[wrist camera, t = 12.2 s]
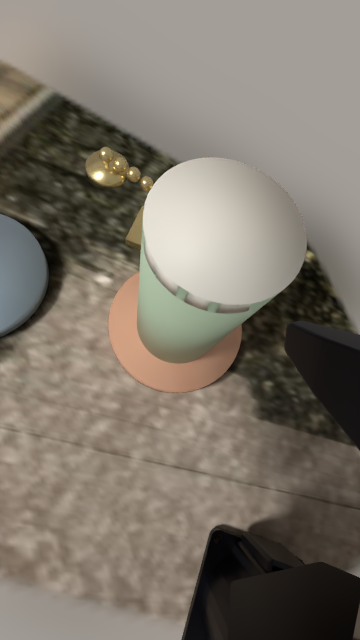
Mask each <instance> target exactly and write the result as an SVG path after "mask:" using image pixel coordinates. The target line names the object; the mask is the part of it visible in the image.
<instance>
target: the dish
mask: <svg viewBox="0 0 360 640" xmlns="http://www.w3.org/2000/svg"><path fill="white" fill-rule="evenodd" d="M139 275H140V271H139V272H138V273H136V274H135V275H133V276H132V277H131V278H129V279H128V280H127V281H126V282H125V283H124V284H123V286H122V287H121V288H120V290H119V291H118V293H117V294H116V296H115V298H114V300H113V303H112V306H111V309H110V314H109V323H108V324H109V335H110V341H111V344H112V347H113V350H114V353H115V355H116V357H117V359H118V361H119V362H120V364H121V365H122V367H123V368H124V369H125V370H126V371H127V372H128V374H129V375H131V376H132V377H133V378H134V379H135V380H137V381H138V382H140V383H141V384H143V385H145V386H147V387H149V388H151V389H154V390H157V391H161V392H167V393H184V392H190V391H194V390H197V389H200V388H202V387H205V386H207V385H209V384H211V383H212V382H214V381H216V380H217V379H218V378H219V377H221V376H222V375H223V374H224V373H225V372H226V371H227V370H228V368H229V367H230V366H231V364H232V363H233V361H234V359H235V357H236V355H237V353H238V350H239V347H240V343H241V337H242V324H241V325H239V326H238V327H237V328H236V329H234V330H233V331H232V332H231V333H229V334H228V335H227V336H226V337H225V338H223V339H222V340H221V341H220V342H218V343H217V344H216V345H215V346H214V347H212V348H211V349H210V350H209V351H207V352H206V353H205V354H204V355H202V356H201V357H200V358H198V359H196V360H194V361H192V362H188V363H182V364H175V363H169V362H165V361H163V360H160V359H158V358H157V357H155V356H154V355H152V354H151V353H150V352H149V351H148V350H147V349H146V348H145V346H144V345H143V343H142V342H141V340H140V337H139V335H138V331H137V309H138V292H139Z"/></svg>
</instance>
